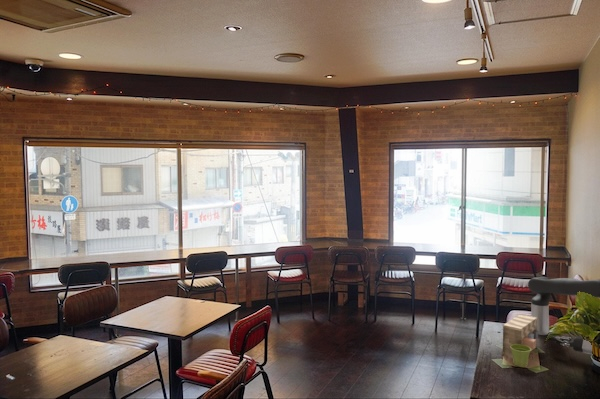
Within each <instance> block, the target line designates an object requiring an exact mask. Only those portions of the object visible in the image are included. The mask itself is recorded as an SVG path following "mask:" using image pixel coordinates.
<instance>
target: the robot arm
mask: <svg viewBox="0 0 600 399" xmlns="http://www.w3.org/2000/svg"><path fill="white" fill-rule="evenodd" d="M527 287H528V290H529V291H531V292H532V293H534V294H536V295H535V296H533V297H532V298H531V302H530V303H531V306H530V307H531V308H530V309H531V312H530V313H531V314H530V316H532V317H537V331H538V336H546V335H547V336H548V335H549V332H550V316H549V311H550V308H549V306H550V301H551V297H552V296H551V295H552V294H554V295H555V294H556V295H562V296H563V295H564V296H573V297H574V296H578V295H577V292H579V291H580V292H585V293H588V294H591V295H592V296H591V297H593V296H594V297H593V298H599V299H600V278H598V279H589V280H581V279H576V278H571V277H559V278H551V279H550V278H548V277H546V276H538V277H537V276H536V277H532V278H530V279H529V280H528V282H527ZM552 336H553V337H551V338H549V339H547V341H549V342H550V341H551V342H554V343H555V344H556V345H558V346H560V347H562V348H565V347H567V348H569V347H571V348H573V350H574V351H575V352H578V353H582V354H588V355H593V354H592V345H591V343H590V342H589V341H586V340H584V339H583V338H582V337H583V336H578V335H575V336H574V338H573V337H571V335H558V336H554V335H552Z"/></svg>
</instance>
